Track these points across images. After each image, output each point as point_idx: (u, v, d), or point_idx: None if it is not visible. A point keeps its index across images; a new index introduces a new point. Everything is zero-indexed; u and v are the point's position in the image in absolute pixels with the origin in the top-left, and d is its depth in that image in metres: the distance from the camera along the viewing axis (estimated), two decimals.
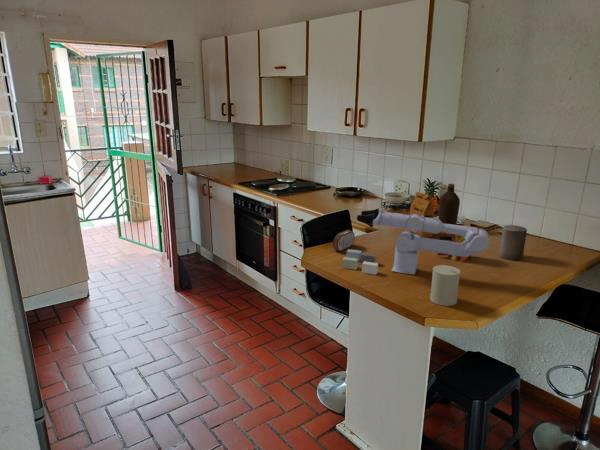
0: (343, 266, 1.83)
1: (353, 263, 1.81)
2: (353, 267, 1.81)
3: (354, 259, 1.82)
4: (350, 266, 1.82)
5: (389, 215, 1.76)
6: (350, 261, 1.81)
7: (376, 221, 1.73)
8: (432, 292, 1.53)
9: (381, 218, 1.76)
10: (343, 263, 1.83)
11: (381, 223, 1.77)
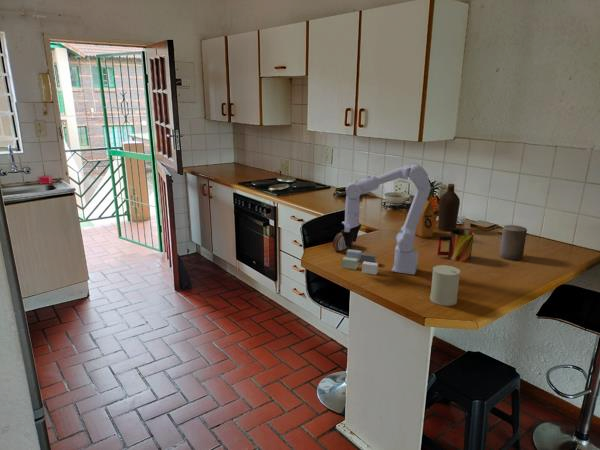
0: (343, 266, 1.83)
1: (353, 263, 1.81)
2: (353, 267, 1.81)
3: (354, 259, 1.82)
4: (350, 266, 1.82)
5: (345, 214, 1.76)
6: (350, 261, 1.81)
7: (345, 228, 1.72)
8: (432, 292, 1.53)
9: (348, 222, 1.76)
10: (343, 263, 1.83)
11: (353, 223, 1.75)
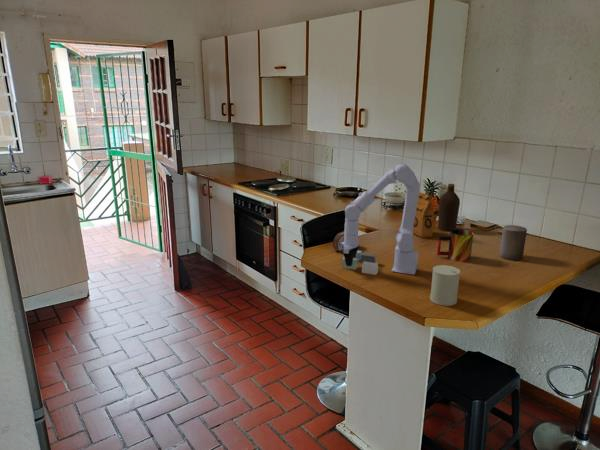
0: (343, 266, 1.83)
1: (353, 262, 1.81)
2: (353, 267, 1.81)
3: (354, 259, 1.82)
4: (350, 266, 1.82)
5: (345, 236, 1.79)
6: None
7: (344, 250, 1.74)
8: (432, 292, 1.53)
9: (347, 244, 1.78)
10: (343, 263, 1.83)
11: (352, 244, 1.78)
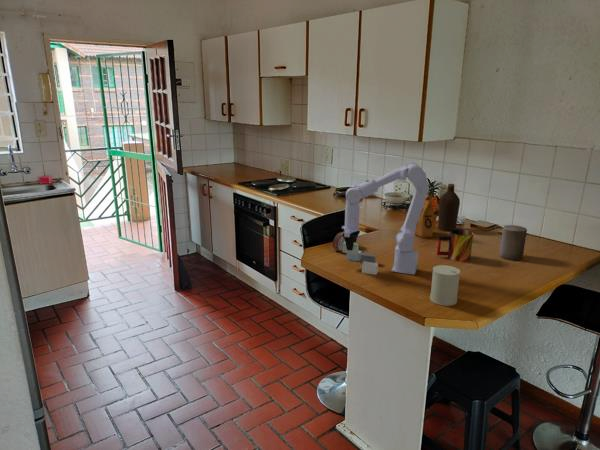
0: (343, 250, 1.81)
1: (353, 247, 1.79)
2: (354, 251, 1.79)
3: (355, 243, 1.80)
4: None
5: (345, 219, 1.77)
6: None
7: (345, 233, 1.73)
8: (432, 292, 1.53)
9: (348, 227, 1.76)
10: (343, 247, 1.81)
11: (353, 227, 1.76)
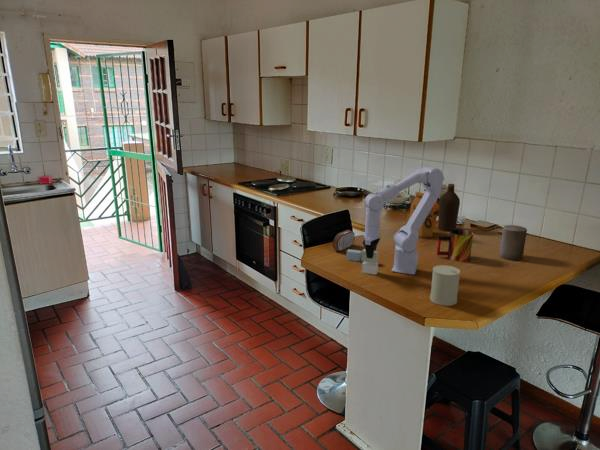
0: (363, 258, 1.77)
1: (373, 255, 1.75)
2: (373, 259, 1.75)
3: (374, 251, 1.76)
4: (370, 258, 1.75)
5: (366, 226, 1.72)
6: None
7: (366, 241, 1.68)
8: (432, 292, 1.53)
9: (368, 235, 1.72)
10: (363, 255, 1.76)
11: (374, 235, 1.71)
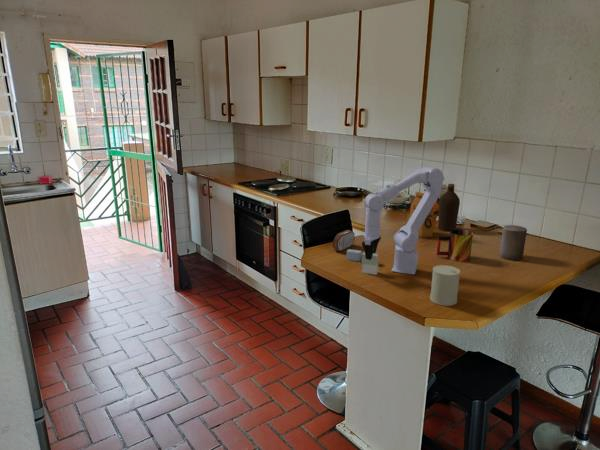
0: (363, 262, 1.77)
1: (373, 258, 1.75)
2: (373, 263, 1.75)
3: (374, 254, 1.76)
4: (370, 262, 1.76)
5: (366, 226, 1.72)
6: None
7: (366, 241, 1.68)
8: (432, 292, 1.53)
9: (368, 235, 1.72)
10: (363, 259, 1.76)
11: (374, 235, 1.71)
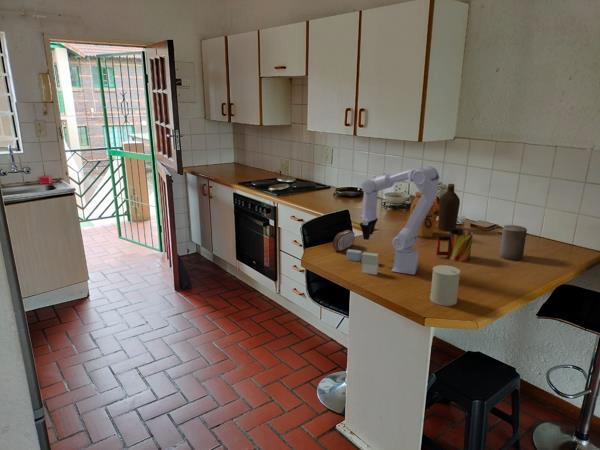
0: (363, 262, 1.77)
1: (373, 258, 1.75)
2: (373, 263, 1.75)
3: (374, 254, 1.76)
4: (370, 262, 1.76)
5: (363, 208, 1.86)
6: (370, 256, 1.75)
7: (364, 221, 1.81)
8: (432, 292, 1.53)
9: (366, 216, 1.85)
10: (363, 258, 1.76)
11: (371, 216, 1.85)
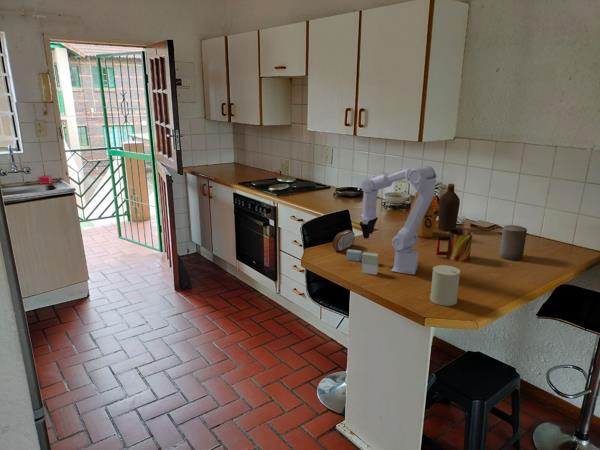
0: (363, 262, 1.77)
1: (373, 258, 1.75)
2: (373, 263, 1.75)
3: (374, 254, 1.76)
4: (370, 262, 1.76)
5: (363, 208, 1.87)
6: (370, 256, 1.75)
7: (364, 220, 1.83)
8: (432, 292, 1.53)
9: (366, 215, 1.87)
10: (363, 258, 1.76)
11: (371, 215, 1.86)
